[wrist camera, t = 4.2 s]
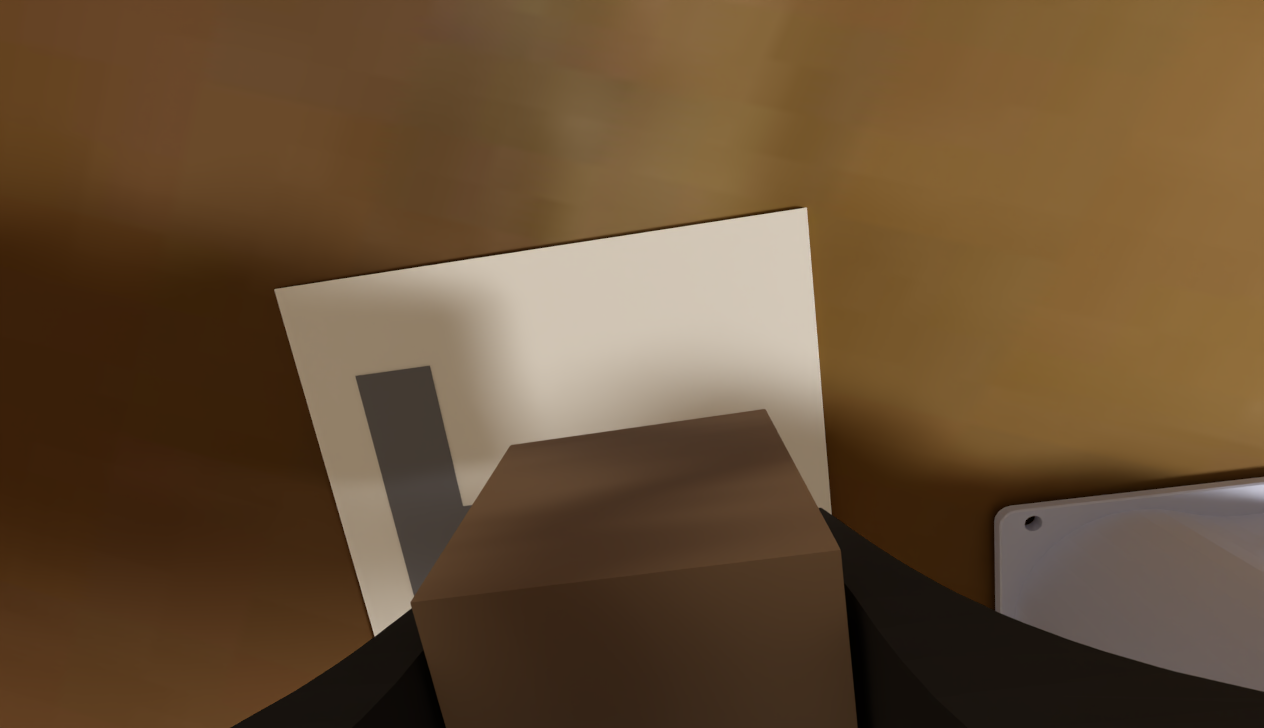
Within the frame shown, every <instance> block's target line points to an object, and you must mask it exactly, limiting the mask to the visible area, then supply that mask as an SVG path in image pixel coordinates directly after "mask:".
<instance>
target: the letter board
mask: <svg viewBox="0 0 1264 728" xmlns="http://www.w3.org/2000/svg"><path fill="white" fill-rule="evenodd" d="M274 291H275V294H276V298H277V301H278V305H279V308H280V312H281V315H282V318H283V322H284V325H285V329H286V332H287V336H288V339H289V343H290V346H291V350H292V353H293V356H294V360H295V363H296V367H297V370H298V374H299V377H300V381H301V384H302V388H303V391H304V394H305V398H306V401H307V405H308V408H309V412H310V415H311V419H312V422H313V425H314V429H315V432H316V436H317V439H318V443H319V446H320V450H321V453H322V457H323V460H324V463H325V467H326V470H327V474H328V477H329V481H330V484H331V488H332V491H333V495H334V498H335V501H336V505H337V508H338V512H339V515H340V519H341V522H342V526H343V529H344V532H345V536H346V539H347V543H348V546H349V550H350V553H351V557H352V560H353V564H354V567H355V570H356V574H357V577H358V581H359V584H360V588H361V591H362V595H363V598H364V601H365V605H366V608H367V612H368V615H369V619H370V622H371V626H372V629H373V633H374V636H376V635H377V634H379V633H380V632H381V631H383V630H384V629H385V628H387V627H388V626H389V625H390V624H392V623H393V622H394V621H396V620H397V619H398V618H400V617H401V616H402V615H404V614H405V613H406V612H407V611H409V610H410V609H411V608H412V607H411V604H410V602H411V600H412V599H413V597H414V596H415V594H416V593H417V591H418V589H419V588H420V586H421V585H422V583H423V582H424V580H425V578H426V577H427V575H428V574H429V572H430V571H431V569H432V567H433V566H434V564H435V563H436V561H437V560H438V558H439V556H440V555H441V553H442V552H443V550H444V549H445V547H446V545H447V544H448V542H449V541H450V539H451V538H452V536H453V534H454V533H455V531H456V530H457V528H458V527H459V525H460V523H461V522H462V520H463V519H464V517H465V516H466V514H467V512H468V511H469V509H470V508H471V506H472V505H473V503H474V501H475V500H476V498H477V497H478V495H479V494H480V492H481V490H482V489H483V487H484V486H485V484H486V483H487V481H488V479H489V478H490V476H491V475H492V473H493V472H494V470H495V468H496V467H497V465H498V464H499V462H500V461H501V459H502V457H503V456H504V454H505V453H506V451H507V450H508V448H509V446H510V445H514V444H522V443H529V442H536V441H543V440H550V439H557V438H564V437H571V436H578V435H585V434H592V433H599V432H606V431H613V430H620V429H627V428H634V427H641V426H648V425H655V424H662V423H669V422H676V421H683V420H690V419H697V418H704V417H711V416H718V415H725V414H732V413H739V412H747V411H754V410H761V409H766V411H767V413H768V415H769V417H770V418H771V420H772V422H773V424H774V426H775V428H776V430H777V432H778V433H779V435H780V437H781V439H782V441H783V443H784V445H785V447H786V448H787V450H788V452H789V454H790V456H791V458H792V460H793V462H794V463H795V465H796V467H797V469H798V471H799V473H800V475H801V476H802V478H803V480H804V482H805V484H806V486H807V488H808V490H809V491H810V493H811V495H812V497H813V499H814V501H815V503H816V505H817V506H818V508H823V509H824V510H826V511H827V512H828V513H830V514H831V515H832V512H831V500H830V488H829V475H828V463H827V451H826V438H825V426H824V414H823V402H822V389H821V377H820V365H819V352H818V340H817V328H816V315H815V303H814V291H813V279H812V266H811V254H810V242H809V229H808V217H807V208H800V209H793V210H787V211H780V212H774V213H767V214H761V215H754V216H748V217H741V218H735V219H728V220H721V221H715V222H708V223H702V224H695V225H689V226H682V227H676V228H669V229H663V230H656V231H650V232H643V233H637V234H630V235H624V236H617V237H611V238H604V239H598V240H591V241H585V242H578V243H572V244H565V245H559V246H552V247H545V248H539V249H532V250H526V251H519V252H513V253H506V254H500V255H493V256H487V257H480V258H474V259H467V260H461V261H454V262H448V263H441V264H435V265H428V266H422V267H415V268H409V269H402V270H396V271H389V272H382V273H376V274H369V275H363V276H356V277H350V278H343V279H337V280H330V281H324V282H317V283H311V284H304V285H298V286H291V287H285V288H278V289H274Z"/></svg>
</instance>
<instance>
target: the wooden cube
mask: <svg viewBox="0 0 1264 728" xmlns="http://www.w3.org/2000/svg"><path fill="white" fill-rule="evenodd" d="M410 604H411V607H412V611H413V614H414V618H415V621H416V625H417V628H418V632H419V635H420V639H421V642H422V646H423V649H424V653H425V656H426V660H427V663H428V667H429V670H430V674H431V677H432V681H433V684H434V688H435V691H436V695H437V698H438V702H439V705H440V709H441V712H442V716H443V719H444V723H445V726H446V728H858V726H857V716H856V705H855V695H854V684H853V674H852V663H851V653H850V642H849V632H848V621H847V611H846V600H845V590H844V579H843V569H842V558H841V550H840V548H839V546H838V544H837V542H836V540H835V538H834V536H833V535H832V533H831V531H830V529H829V527H828V525H827V523H826V521H825V520H824V518H823V516H822V514H821V512H820V510H819V508H818V506H817V505H816V503H815V501H814V499H813V497H812V495H811V493H810V491H809V490H808V488H807V486H806V484H805V482H804V480H803V478H802V476H801V475H800V473H799V471H798V469H797V467H796V465H795V463H794V462H793V460H792V458H791V456H790V454H789V452H788V450H787V448H786V447H785V445H784V443H783V441H782V439H781V437H780V435H779V433H778V432H777V430H776V428H775V426H774V424H773V422H772V420H771V418H770V417H769V415H768V413H767V411H766V409H761V410H754V411H747V412H739V413H732V414H725V415H718V416H711V417H704V418H697V419H690V420H683V421H676V422H669V423H662V424H655V425H648V426H641V427H634V428H627V429H620V430H613V431H606V432H599V433H592V434H585V435H578V436H571V437H564V438H557V439H550V440H543V441H536V442H529V443H522V444H514V445H510V446H509V448H508V450H507V451H506V453H505V454H504V456H503V457H502V459H501V461H500V462H499V464H498V465H497V467H496V468H495V470H494V472H493V473H492V475H491V476H490V478H489V479H488V481H487V483H486V484H485V486H484V487H483V489H482V490H481V492H480V494H479V495H478V497H477V498H476V500H475V501H474V503H473V505H472V506H471V508H470V509H469V511H468V512H467V514H466V516H465V517H464V519H463V520H462V522H461V523H460V525H459V527H458V528H457V530H456V531H455V533H454V534H453V536H452V538H451V539H450V541H449V542H448V544H447V545H446V547H445V549H444V550H443V552H442V553H441V555H440V556H439V558H438V560H437V561H436V563H435V564H434V566H433V567H432V569H431V571H430V572H429V574H428V575H427V577H426V578H425V580H424V582H423V583H422V585H421V586H420V588H419V589H418V591H417V593H416V594H415V596H414V597H413V599H412V600H411V602H410Z"/></svg>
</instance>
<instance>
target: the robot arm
mask: <svg viewBox="0 0 1264 728" xmlns="http://www.w3.org/2000/svg"><path fill="white" fill-rule="evenodd" d="M819 510H820V512H821V514H822V516H823V518H824V520H825V521H826V523H827V525H828V527H829V529H830V531H831V533H832V535H833V536H834V538H835V540H836V542H837V544H838V546H839V548H840V550H841V558H842V569H843V579H844V590H845V600H846V611H847V621H848V632H849V642H850V653H851V663H852V674H853V684H854V695H855V705H856V716H857V726H858V728H1264V477H1258V478H1249V479H1240V480H1231V481H1223V482H1214V483H1205V484H1196V485H1187V486H1179V487H1170V488H1161V489H1152V490H1143V491H1135V492H1126V493H1117V494H1108V495H1099V496H1091V497H1082V498H1073V499H1064V500H1055V501H1047V502H1038V503H1029V504H1020V505H1011V506H1007V507H1004V508H1003V509H1001V510H1000V511H999V512H998V513H997V515H996V516H995V520H994V546H995V611H994V610H992V609H990V608H988V607H986V606H984V605H981V604H979V603H977V602H975V601H973V600H971V599H969V598H966V597H964V596H962V595H960V594H958V593H956V592H954V591H952V590H950V589H948V588H946V587H944V586H942V585H940V584H939V583H937V582H935V581H933V580H932V579H930V578H928V577H926V576H924V575H923V574H921V573H919V572H917V571H916V570H914V569H912V568H910V567H909V566H907V565H905V564H904V563H902V562H900V561H899V560H897V559H896V558H894V557H892V556H891V555H889V554H888V553H886V552H885V551H883V550H882V549H880V548H878V547H877V546H875V545H874V544H872V543H871V542H869V541H868V540H867V539H865V538H864V537H862V536H861V535H859V534H858V533H856V532H855V531H854V530H852V529H851V528H849V527H848V526H847V525H845V524H844V523H842V522H841V521H840V520H838V519H837V518H835V517H834V516H833V515H831V514H830V513H828V512H827V511H826V510H824V509H823V508H819ZM1031 516H1035V518H1034V521H1033V522H1032V523H1030V524H1028V525H1025V521H1026V520H1027V519H1028V518H1029V517H1031ZM231 728H446V726H445V723H444V719H443V716H442V712H441V709H440V705H439V702H438V698H437V695H436V691H435V688H434V684H433V681H432V677H431V674H430V670H429V667H428V663H427V660H426V656H425V653H424V649H423V646H422V642H421V639H420V635H419V632H418V628H417V625H416V621H415V618H414V614H413V611H412V608H411V609H410V610H409V611H407V612H406V613H405V614H404V615H402V616H401V617H400V618H398V619H397V620H396V621H394V622H393V623H392V624H390V625H389V626H388V627H387V628H385V629H384V630H383V631H381V632H380V633H379V634H377V635H376V636H375V637H374V638H372V639H371V640H370V641H368V642H367V643H366V644H364V645H363V646H362V647H360V648H359V649H358V650H356V651H355V652H354V653H352V654H351V655H349V656H348V657H346V658H345V659H344V660H342V661H341V662H339V663H338V664H336V665H335V666H333V667H332V668H330V669H329V670H327V671H326V672H324V673H323V674H321V675H319V676H318V677H316V678H315V679H313V680H312V681H310V682H309V683H307V684H306V685H304V686H302V687H301V688H299V689H297V690H296V691H294V692H293V693H291V694H289V695H287V696H286V697H284V698H282V699H280V700H279V701H277V702H275V703H273V704H272V705H270V706H268V707H266V708H264V709H263V710H261V711H259V712H257V713H256V714H254V715H252V716H250V717H249V718H247V719H245V720H243V721H241V722H240V723H238V724H236V725H234V726H233V727H231Z"/></svg>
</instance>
